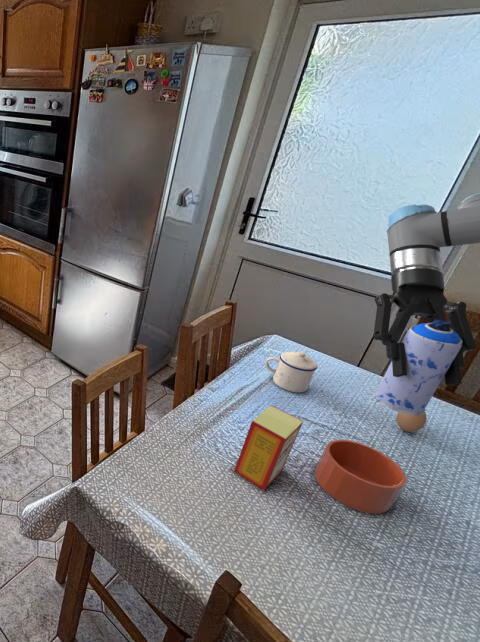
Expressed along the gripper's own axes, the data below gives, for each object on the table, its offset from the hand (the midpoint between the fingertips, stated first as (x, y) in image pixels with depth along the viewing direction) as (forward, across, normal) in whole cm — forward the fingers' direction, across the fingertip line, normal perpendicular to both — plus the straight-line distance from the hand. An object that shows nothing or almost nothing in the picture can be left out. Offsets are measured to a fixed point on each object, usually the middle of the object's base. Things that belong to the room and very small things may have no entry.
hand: (426, 379), depth 81 cm
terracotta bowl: (+22, +3, -21) cm, 31 cm away
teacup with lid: (-5, +6, -49) cm, 49 cm away
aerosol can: (+4, 0, -9) cm, 9 cm away
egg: (+4, -18, -40) cm, 44 cm away
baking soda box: (+24, +22, -20) cm, 38 cm away
